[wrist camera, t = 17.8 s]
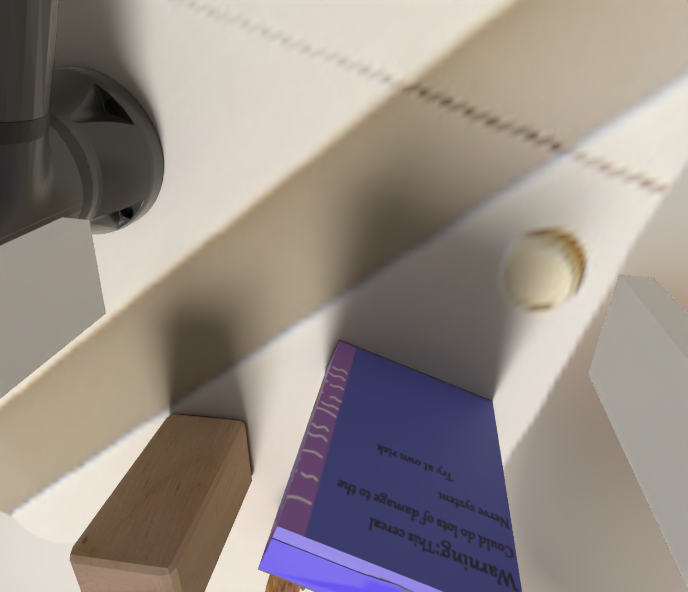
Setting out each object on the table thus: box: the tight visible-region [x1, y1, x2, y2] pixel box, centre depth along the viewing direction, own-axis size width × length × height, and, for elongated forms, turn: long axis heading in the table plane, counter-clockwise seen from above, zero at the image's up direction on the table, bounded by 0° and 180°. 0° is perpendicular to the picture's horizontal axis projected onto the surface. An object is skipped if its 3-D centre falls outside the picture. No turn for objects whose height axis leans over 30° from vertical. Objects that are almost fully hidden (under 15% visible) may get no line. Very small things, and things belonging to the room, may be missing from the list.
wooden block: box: [70, 414, 252, 592], centre depth 55 cm, size 10×10×20 cm
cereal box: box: [258, 340, 522, 592], centre depth 45 cm, size 17×5×24 cm, turn 70°
